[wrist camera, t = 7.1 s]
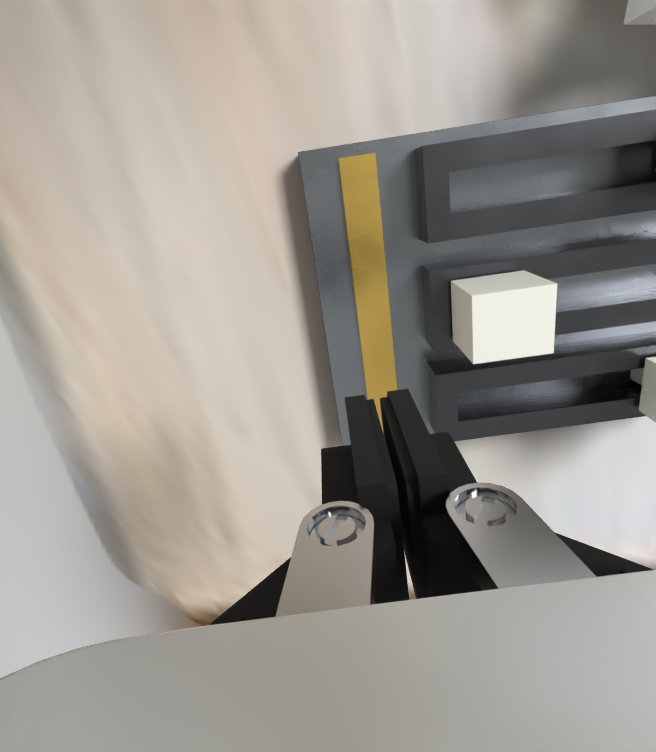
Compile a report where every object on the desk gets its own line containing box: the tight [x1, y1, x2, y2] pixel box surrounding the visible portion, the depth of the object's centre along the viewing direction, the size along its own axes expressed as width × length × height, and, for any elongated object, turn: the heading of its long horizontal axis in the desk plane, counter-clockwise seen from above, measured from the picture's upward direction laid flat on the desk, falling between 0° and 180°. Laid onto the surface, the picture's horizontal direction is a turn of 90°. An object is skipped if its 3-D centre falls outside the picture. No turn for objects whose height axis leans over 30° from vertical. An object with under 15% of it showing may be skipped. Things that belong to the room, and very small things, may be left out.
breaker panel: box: [298, 96, 656, 446], centre depth 22 cm, size 15×24×3 cm, turn 98°
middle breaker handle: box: [451, 270, 557, 364], centre depth 20 cm, size 3×3×5 cm
